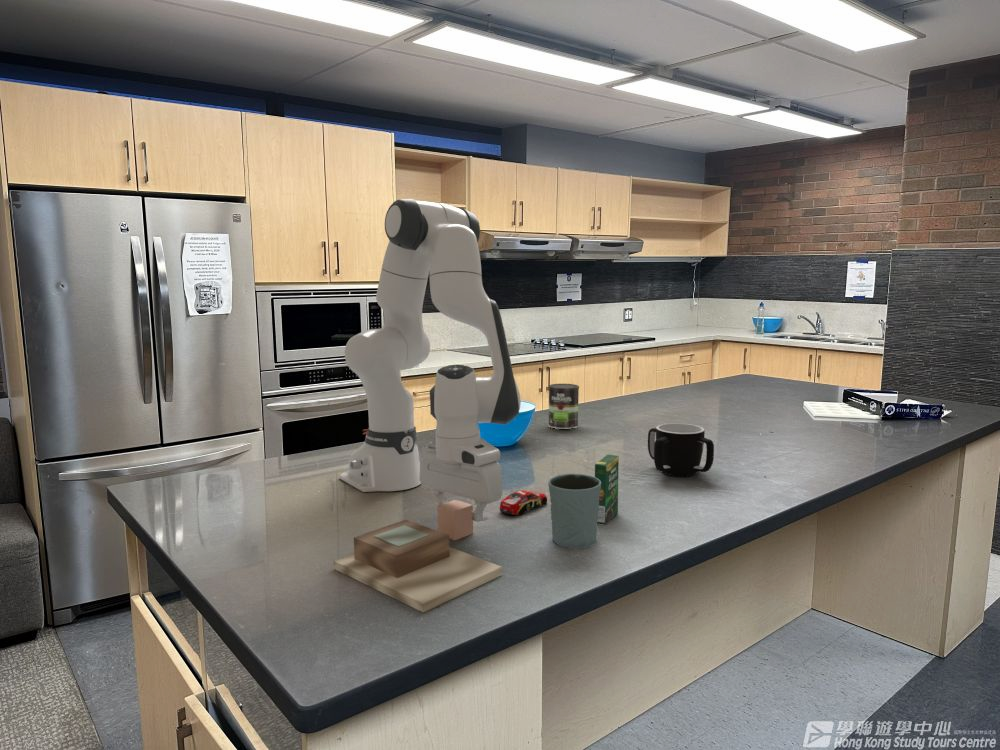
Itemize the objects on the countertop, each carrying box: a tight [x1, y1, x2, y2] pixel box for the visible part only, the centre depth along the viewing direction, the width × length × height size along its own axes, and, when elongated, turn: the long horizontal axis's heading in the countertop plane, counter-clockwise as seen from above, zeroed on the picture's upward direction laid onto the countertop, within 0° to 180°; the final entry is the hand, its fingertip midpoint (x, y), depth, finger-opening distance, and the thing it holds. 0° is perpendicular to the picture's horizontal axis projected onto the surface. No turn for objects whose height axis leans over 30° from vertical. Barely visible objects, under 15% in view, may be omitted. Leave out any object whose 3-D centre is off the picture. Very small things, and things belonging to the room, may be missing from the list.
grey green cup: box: [548, 473, 601, 549], centre depth 134 cm, size 10×10×12 cm
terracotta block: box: [436, 499, 474, 541], centre depth 138 cm, size 5×5×6 cm
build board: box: [333, 519, 503, 614], centre depth 121 cm, size 24×18×6 cm
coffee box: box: [594, 454, 620, 526], centre depth 145 cm, size 8×3×13 cm, turn 151°
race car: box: [499, 490, 548, 516], centre depth 154 cm, size 13×5×4 cm, turn 138°
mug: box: [647, 422, 715, 478], centre depth 179 cm, size 16×16×12 cm
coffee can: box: [548, 383, 580, 430], centre depth 233 cm, size 10×10×14 cm
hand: (460, 515), depth 138 cm, fingers open, 8 cm apart
